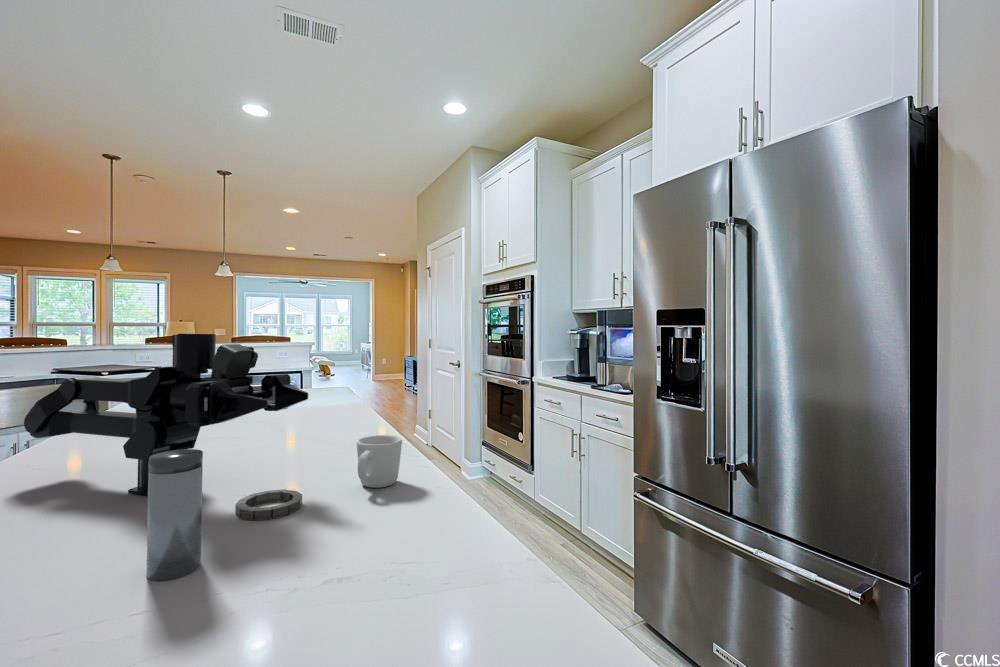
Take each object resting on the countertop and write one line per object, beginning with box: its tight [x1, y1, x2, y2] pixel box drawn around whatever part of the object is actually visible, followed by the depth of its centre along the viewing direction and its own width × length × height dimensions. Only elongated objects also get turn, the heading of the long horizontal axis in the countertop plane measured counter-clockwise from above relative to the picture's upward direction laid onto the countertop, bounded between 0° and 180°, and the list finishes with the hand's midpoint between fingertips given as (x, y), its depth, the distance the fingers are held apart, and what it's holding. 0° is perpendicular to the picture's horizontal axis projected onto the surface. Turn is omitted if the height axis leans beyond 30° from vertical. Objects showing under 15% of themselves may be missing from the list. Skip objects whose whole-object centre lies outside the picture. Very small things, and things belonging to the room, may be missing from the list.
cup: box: [356, 434, 403, 489], centre depth 81 cm, size 11×8×8 cm
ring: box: [234, 489, 303, 522], centre depth 70 cm, size 9×9×1 cm
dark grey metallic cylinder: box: [146, 448, 204, 582], centre depth 52 cm, size 5×5×13 cm
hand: (288, 399), depth 71 cm, fingers open, 9 cm apart
